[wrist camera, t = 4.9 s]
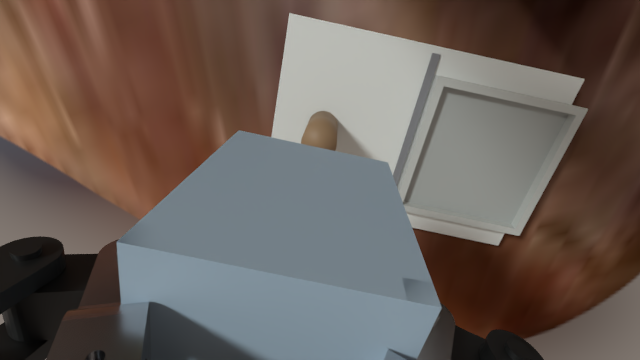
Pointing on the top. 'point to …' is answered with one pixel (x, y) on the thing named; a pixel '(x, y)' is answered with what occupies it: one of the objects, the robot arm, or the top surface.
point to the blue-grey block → (280, 259)
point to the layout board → (430, 122)
